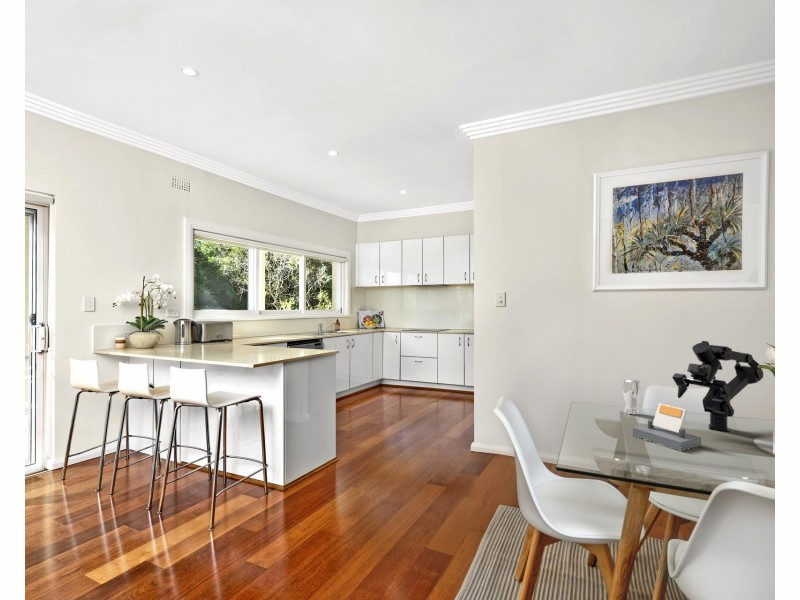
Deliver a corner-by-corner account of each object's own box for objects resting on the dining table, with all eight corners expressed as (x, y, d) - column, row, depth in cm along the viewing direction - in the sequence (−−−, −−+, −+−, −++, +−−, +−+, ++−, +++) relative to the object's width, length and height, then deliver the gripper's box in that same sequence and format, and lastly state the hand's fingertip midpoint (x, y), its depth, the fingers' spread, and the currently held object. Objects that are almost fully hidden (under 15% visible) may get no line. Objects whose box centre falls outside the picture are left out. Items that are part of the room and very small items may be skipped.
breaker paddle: (654, 426, 166) (661, 404, 167) (680, 434, 157) (688, 410, 158) (651, 424, 165) (658, 402, 167) (678, 432, 156) (685, 409, 158)
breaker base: (653, 431, 172) (653, 416, 172) (700, 446, 155) (701, 429, 155) (632, 435, 166) (633, 420, 166) (680, 451, 150) (680, 434, 150)
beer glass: (619, 412, 199) (619, 380, 199) (630, 410, 202) (630, 379, 202) (632, 416, 193) (632, 383, 193) (643, 414, 195) (643, 381, 195)
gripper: (675, 353, 177) (658, 381, 172) (727, 359, 161) (709, 391, 156) (686, 371, 181) (669, 399, 176) (737, 379, 164) (720, 411, 159)
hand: (690, 400), depth 166 cm, fingers open, 9 cm apart
